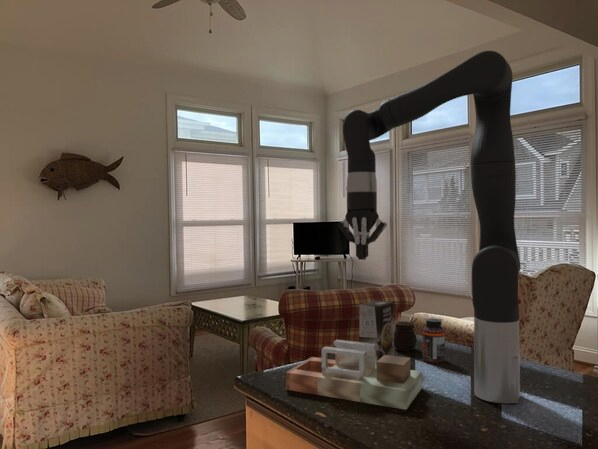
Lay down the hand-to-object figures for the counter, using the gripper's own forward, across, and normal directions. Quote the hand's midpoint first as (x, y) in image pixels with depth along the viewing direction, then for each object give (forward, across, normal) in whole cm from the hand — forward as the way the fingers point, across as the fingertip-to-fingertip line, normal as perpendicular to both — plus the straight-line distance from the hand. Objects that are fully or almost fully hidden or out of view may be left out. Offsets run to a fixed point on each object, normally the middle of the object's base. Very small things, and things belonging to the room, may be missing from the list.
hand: (362, 259), depth 126 cm
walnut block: (+25, -12, +12) cm, 30 cm away
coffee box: (+29, 0, -12) cm, 32 cm away
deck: (+29, -2, +12) cm, 31 cm away
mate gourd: (+29, -4, -27) cm, 40 cm away
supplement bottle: (+29, -14, -19) cm, 38 cm away
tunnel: (+25, -1, +12) cm, 28 cm away
